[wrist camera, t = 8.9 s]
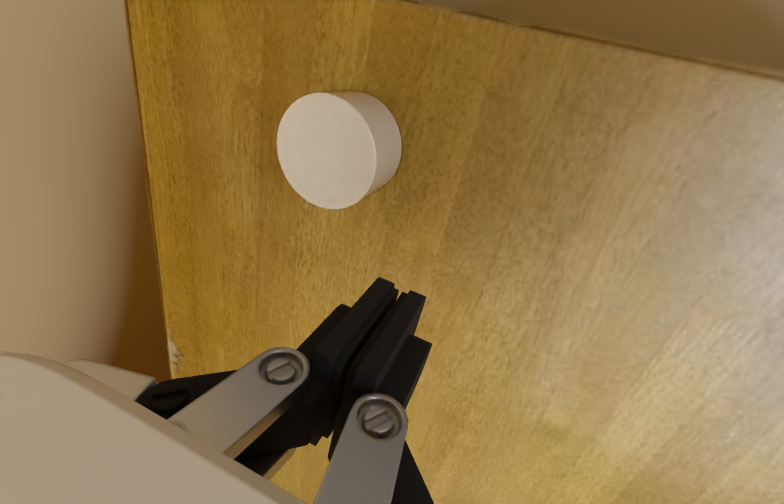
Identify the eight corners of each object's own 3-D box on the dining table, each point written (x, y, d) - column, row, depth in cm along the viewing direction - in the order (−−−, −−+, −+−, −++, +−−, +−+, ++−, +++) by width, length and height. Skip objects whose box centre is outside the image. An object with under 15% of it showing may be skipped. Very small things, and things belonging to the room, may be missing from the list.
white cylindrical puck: (352, 66, 22) (316, 64, 19) (422, 148, 23) (399, 159, 19) (297, 141, 26) (258, 150, 22) (358, 211, 26) (329, 230, 23)
